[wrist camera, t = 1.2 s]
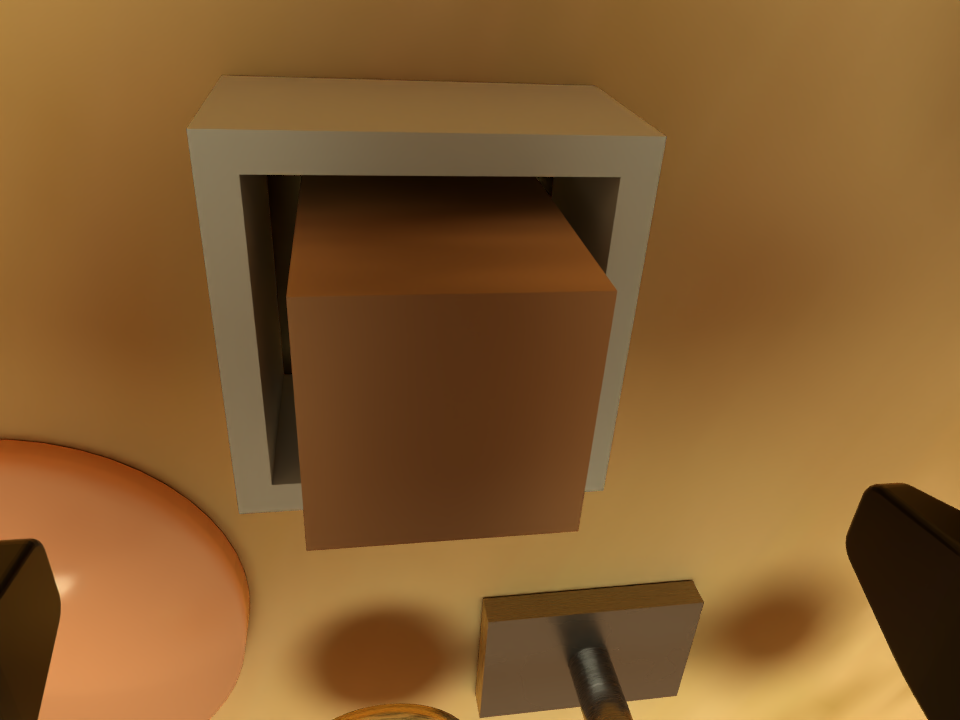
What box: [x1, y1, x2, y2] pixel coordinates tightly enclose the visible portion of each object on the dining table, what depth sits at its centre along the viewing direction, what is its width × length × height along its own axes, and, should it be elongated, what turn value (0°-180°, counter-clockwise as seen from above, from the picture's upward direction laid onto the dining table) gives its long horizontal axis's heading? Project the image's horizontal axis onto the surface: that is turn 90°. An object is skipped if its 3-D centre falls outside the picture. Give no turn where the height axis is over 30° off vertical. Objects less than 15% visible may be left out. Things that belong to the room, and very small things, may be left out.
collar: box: [186, 75, 667, 514], centre depth 14 cm, size 7×7×4 cm
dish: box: [0, 440, 250, 720], centre depth 18 cm, size 10×10×1 cm
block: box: [286, 175, 617, 551], centre depth 13 cm, size 4×4×6 cm
